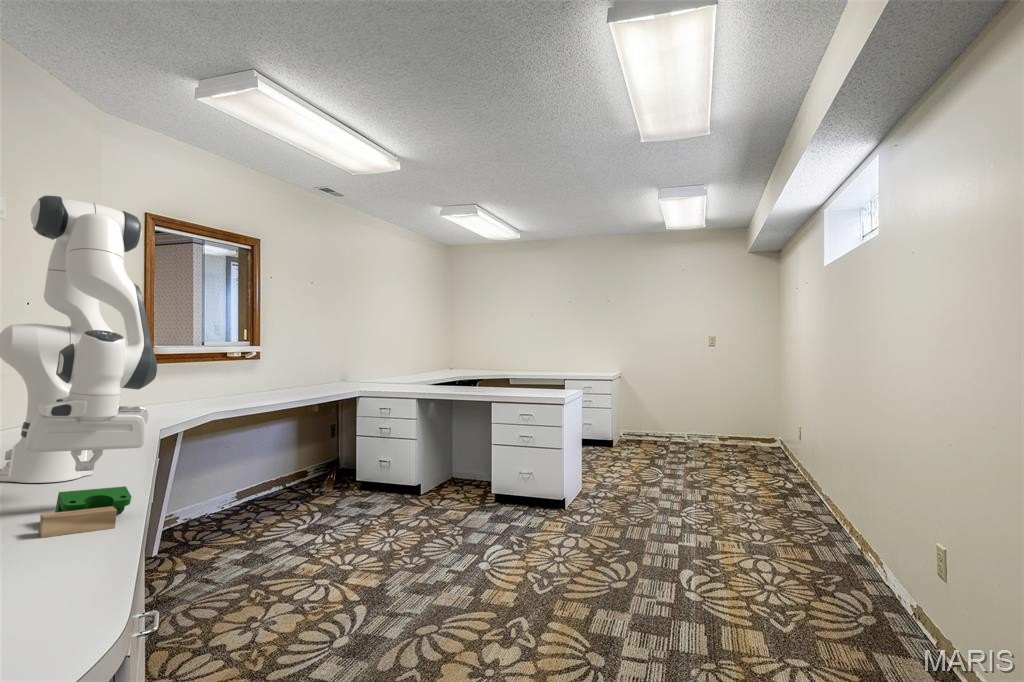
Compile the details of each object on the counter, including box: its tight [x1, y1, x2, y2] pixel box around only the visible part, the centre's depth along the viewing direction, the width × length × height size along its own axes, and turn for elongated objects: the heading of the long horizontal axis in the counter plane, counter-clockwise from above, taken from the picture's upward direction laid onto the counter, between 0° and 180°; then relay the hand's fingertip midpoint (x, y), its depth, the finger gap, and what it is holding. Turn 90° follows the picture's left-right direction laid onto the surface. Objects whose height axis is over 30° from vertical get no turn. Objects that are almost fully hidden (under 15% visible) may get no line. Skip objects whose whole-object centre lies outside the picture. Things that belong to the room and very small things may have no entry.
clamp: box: [54, 486, 132, 516], centre depth 109 cm, size 12×6×9 cm, turn 133°
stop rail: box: [38, 506, 118, 539], centre depth 102 cm, size 3×11×4 cm, turn 140°
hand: (84, 470), depth 114 cm, fingers closed
